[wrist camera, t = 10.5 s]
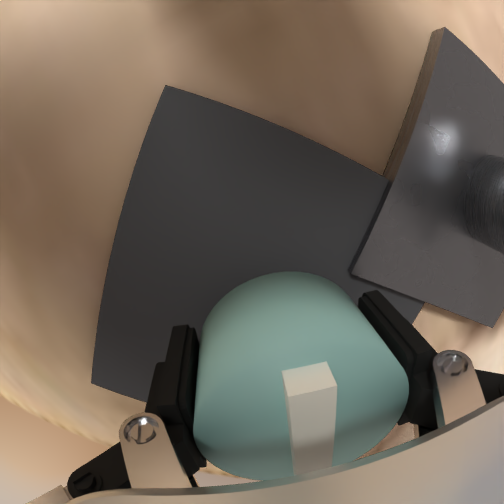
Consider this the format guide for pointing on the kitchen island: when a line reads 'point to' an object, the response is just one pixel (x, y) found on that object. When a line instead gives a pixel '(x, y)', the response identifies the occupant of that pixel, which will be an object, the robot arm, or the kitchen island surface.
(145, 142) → the pad
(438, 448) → the robot arm
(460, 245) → the dark grey square-based fixture
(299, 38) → the kitchen island surface
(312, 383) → the cap
